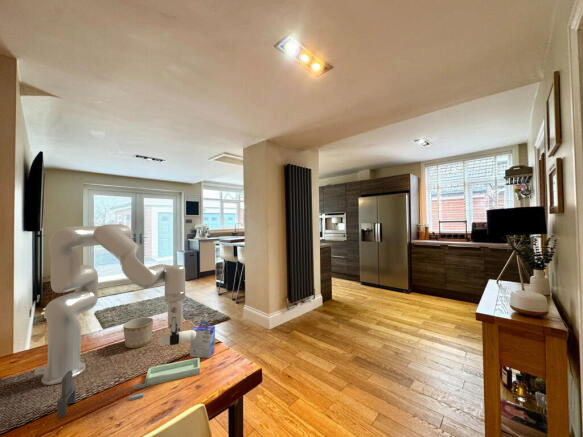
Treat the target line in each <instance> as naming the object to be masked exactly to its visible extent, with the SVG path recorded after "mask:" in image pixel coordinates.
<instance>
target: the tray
mask: <svg viewBox="0 0 583 437" xmlns="http://www.w3.org/2000/svg"><path fill="white" fill-rule="evenodd" d="M200 358H201V357H193V358H190V359H185V360H180V361H176V362H175V361H174V362H171V363H165V364H161V365H155V366H151V367H148V370H147V374H146V377H145V379H144V383H145V384H147V386H146V387H149V386H153V385H157V384H161V383H165V382H170V381H173V380H179V379H182V378H183V379H184V378H187V377H188V378H189V377H192V376H195V375H201V373H200V372H201V369H200V368H201V366H200V365H201V363H200V362H201V361H200V360H201V359H200Z"/></svg>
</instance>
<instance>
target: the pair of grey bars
mask: <svg viewBox="0 0 583 437" xmlns="http://www.w3.org/2000/svg"><path fill="white" fill-rule="evenodd" d="M146 387H148V386H147V384H145V382H144V383H139V384H135V385H133V390H137V389H142V388H146ZM144 396H145V392H142V393H137V394H134V395H129V401H133V400H137V399H142V398H144Z"/></svg>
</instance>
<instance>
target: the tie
mask: <svg viewBox="0 0 583 437" xmlns="http://www.w3.org/2000/svg"><path fill="white" fill-rule="evenodd" d="M76 394H77V385H76V384H75V385H73V378H72V370H71V371H68V372H67V373H66V375H65V376H64V377H63V378H62V382H61V396H60V397H59V398H58V399H57V403H56V418H57V419H59V418H64V417H65V416H67V413H68V411H67V410H68V409H67V408H68V407H67V406H68V405H69V404H73V403H75V402H76V400H77V399H76V398H77V395H76Z"/></svg>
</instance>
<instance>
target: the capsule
mask: <svg viewBox="0 0 583 437" xmlns="http://www.w3.org/2000/svg"><path fill="white" fill-rule="evenodd" d="M178 333H179V343H186V342H190V341H191V340H194V339H195V337H196V332H195V331H194V330H191V329H189V330H183V331H180V332H178ZM157 342H158V345H159V346H161V347H162V346H168V345H169V346H171V345H170V333H166V334H165V333H164V334H162V335H160V336H159V338H158V339H157Z"/></svg>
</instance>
